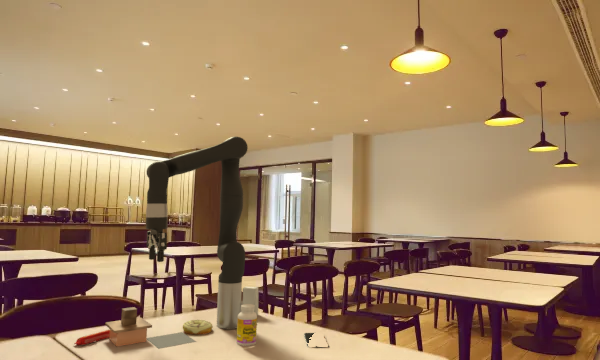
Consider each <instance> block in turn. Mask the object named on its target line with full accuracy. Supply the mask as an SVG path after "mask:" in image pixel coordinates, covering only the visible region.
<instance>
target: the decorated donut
mask: <svg viewBox="0 0 600 360" xmlns="http://www.w3.org/2000/svg"><path fill="white" fill-rule="evenodd" d="M213 328H214V327H213V323H212V322H211V321H208V320H206V319H205V320H204V319H191V320H190V321H189V320H188V321H186V322H184V323H183V324H182V329H183V333H184V334H186V335H206V334H207V335H208V334H209V333H210V332H212V331H213V330H212V329H213Z"/></svg>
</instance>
